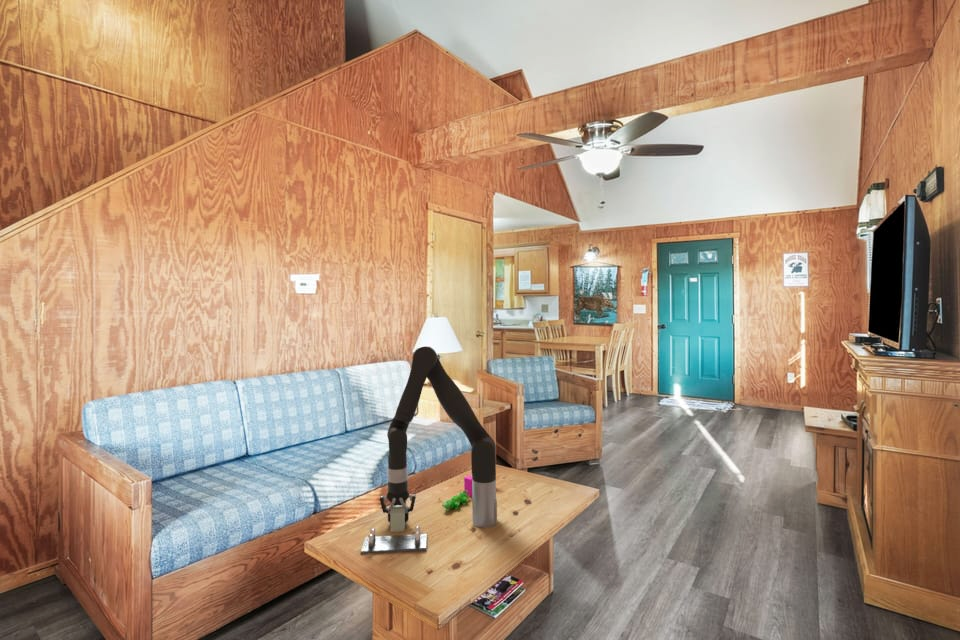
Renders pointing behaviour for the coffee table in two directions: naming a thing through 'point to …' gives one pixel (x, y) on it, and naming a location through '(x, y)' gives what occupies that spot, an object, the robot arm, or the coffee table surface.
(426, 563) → the coffee table surface
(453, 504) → the crocodile figurine
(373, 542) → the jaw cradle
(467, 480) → the toy block
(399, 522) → the block
